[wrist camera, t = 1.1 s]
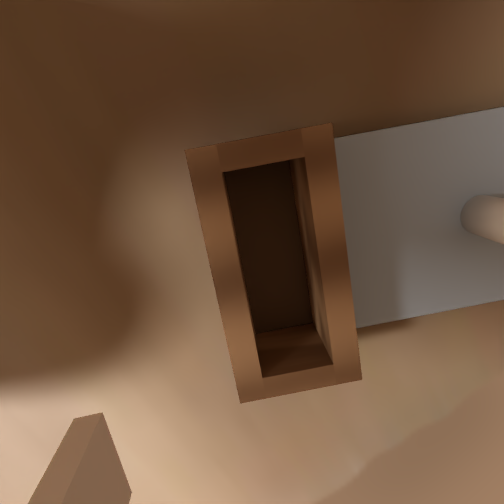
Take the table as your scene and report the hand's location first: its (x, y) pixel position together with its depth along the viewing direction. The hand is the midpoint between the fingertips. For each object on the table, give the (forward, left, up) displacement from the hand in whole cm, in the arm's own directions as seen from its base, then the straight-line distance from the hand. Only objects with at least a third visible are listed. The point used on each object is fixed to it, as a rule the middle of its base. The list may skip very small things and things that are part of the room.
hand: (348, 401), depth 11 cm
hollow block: (0, -1, -19) cm, 19 cm away
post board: (+15, -1, -19) cm, 24 cm away
